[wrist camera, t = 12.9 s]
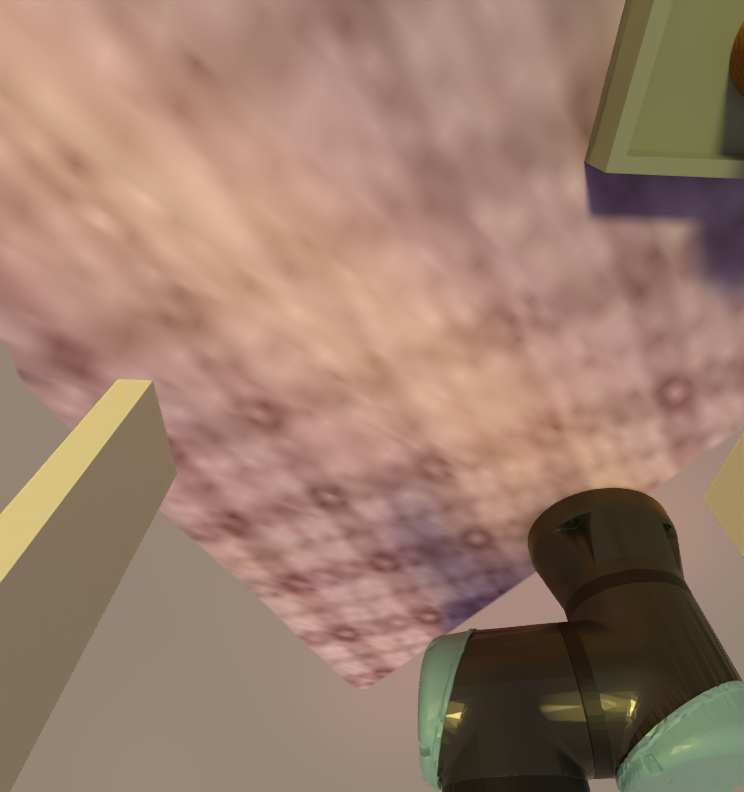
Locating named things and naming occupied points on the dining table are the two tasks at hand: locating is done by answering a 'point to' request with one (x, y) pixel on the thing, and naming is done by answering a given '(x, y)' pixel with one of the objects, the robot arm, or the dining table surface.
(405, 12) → the dining table surface
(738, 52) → the disposable coffee cup
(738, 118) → the bin
